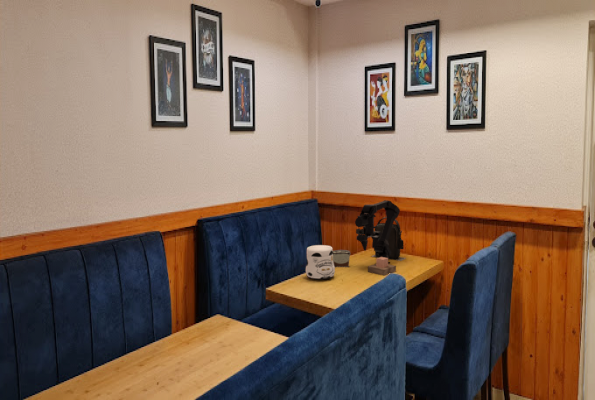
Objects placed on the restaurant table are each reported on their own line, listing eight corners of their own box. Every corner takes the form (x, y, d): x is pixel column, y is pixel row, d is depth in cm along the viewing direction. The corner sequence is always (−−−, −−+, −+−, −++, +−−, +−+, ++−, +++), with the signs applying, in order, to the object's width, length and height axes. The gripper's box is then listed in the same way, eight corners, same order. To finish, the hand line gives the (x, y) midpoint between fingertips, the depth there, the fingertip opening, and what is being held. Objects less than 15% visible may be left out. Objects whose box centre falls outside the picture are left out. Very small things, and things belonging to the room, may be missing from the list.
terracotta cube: (381, 264, 287) (381, 256, 287) (388, 266, 284) (388, 258, 283) (376, 266, 284) (376, 258, 283) (383, 267, 280) (382, 259, 280)
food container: (350, 264, 304) (350, 249, 302) (351, 267, 298) (350, 251, 296) (331, 264, 305) (331, 249, 304) (331, 267, 299) (331, 252, 298)
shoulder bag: (406, 258, 315) (406, 217, 312) (400, 261, 308) (400, 219, 305) (377, 254, 329) (376, 215, 326) (370, 256, 322) (370, 216, 319)
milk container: (326, 283, 265) (325, 252, 263) (300, 279, 275) (299, 249, 273) (340, 275, 280) (339, 246, 278) (315, 272, 289) (314, 243, 287)
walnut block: (380, 268, 293) (380, 262, 293) (395, 272, 285) (395, 265, 284) (367, 272, 285) (367, 266, 285) (383, 276, 277) (383, 269, 276)
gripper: (368, 221, 303) (368, 245, 305) (349, 225, 290) (350, 250, 292) (382, 223, 295) (382, 247, 297) (363, 227, 282) (363, 252, 284)
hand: (369, 249), depth 293 cm, fingers open, 9 cm apart
